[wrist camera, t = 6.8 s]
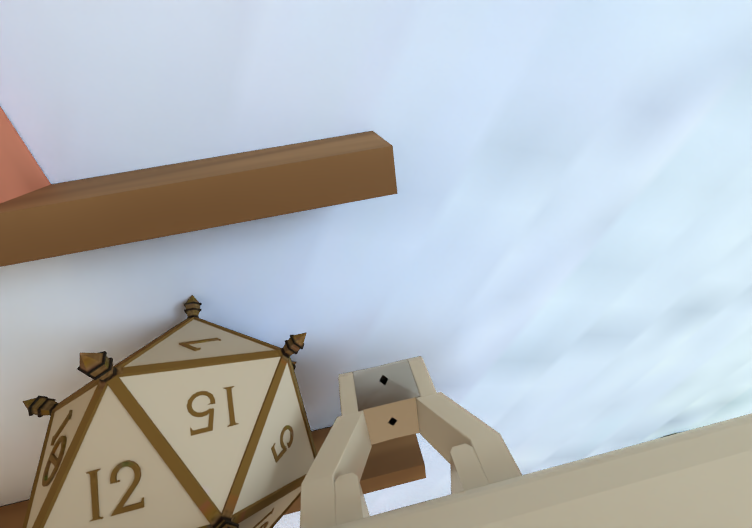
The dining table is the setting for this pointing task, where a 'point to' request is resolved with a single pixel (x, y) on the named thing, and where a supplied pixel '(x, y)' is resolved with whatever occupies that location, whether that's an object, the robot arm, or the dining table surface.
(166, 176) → the trap channel
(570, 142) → the dining table surface
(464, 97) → the dining table surface
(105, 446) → the game die
